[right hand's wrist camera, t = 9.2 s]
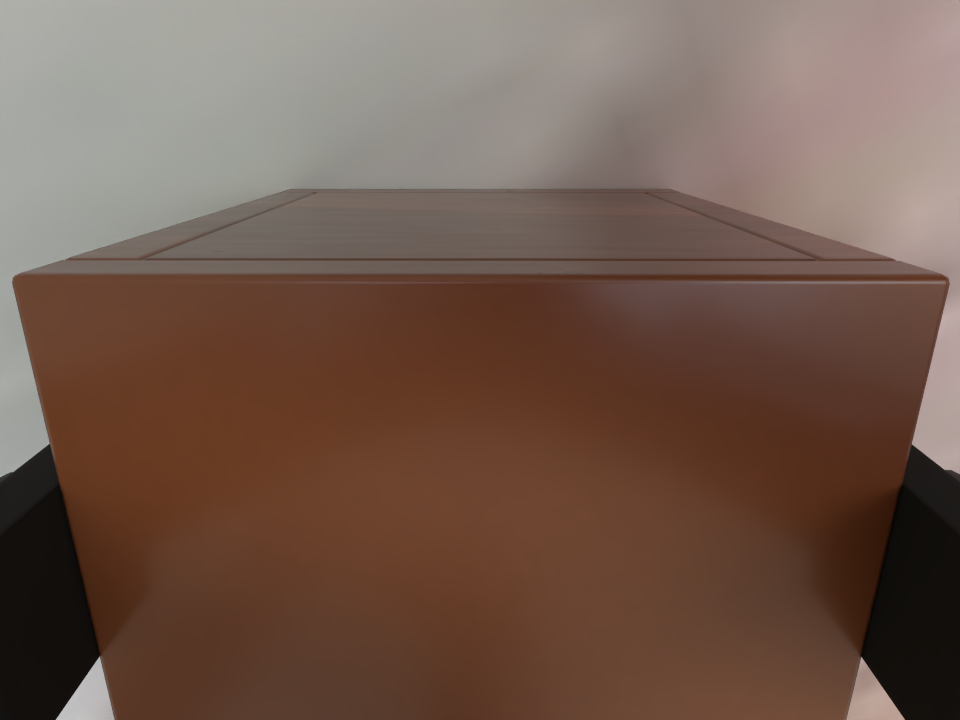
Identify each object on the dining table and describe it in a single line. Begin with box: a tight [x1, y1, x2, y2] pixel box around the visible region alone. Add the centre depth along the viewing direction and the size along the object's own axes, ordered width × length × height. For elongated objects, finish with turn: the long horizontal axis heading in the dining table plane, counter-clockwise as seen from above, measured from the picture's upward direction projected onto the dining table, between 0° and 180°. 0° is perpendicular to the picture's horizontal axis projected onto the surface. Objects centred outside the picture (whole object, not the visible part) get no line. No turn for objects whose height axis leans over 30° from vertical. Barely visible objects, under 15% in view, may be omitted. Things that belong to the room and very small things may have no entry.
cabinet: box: [12, 189, 949, 720], centre depth 16 cm, size 20×11×12 cm, turn 0°
